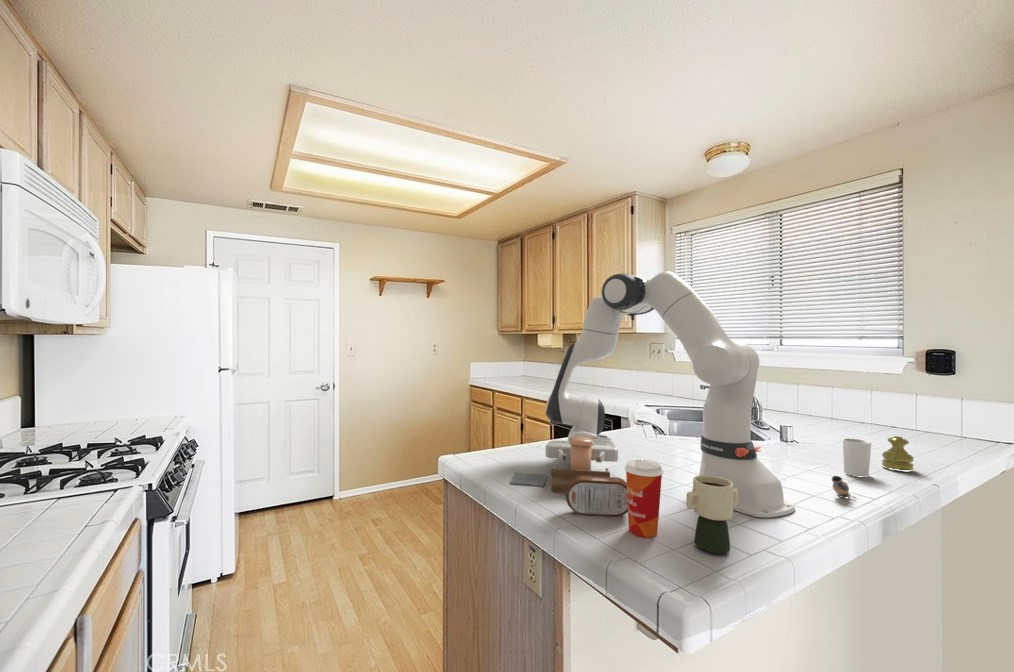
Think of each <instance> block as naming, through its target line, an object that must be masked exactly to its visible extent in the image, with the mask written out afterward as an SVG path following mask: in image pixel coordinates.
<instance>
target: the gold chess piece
mask: <svg viewBox="0 0 1014 672" xmlns="http://www.w3.org/2000/svg"><path fill="white" fill-rule="evenodd" d="M887 442H889V443H890V444H891V448H890V447H889V449H887V450H886V451H883V452H882V453H881V456H882V457H883V458H882V460H881V461H882V463H881V464H882V465H883V466H885V467H887V468H892V469H899V470H913V471H914V463H913V462H914V459H915V458H914V456H913V455H912V454H910V453H909V452H908V451H907V450H906V449H905V446H906V445H909V443H910V441H908V440H907V439H906V438H903V437H902V436H897V435H894V436H893V437H890V438H889V437H888V438H887ZM882 465H881V466H882ZM883 466H882V467H883Z"/></svg>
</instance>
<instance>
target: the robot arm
mask: <svg viewBox="0 0 1014 672" xmlns="http://www.w3.org/2000/svg"><path fill="white" fill-rule="evenodd" d="M654 310H655V311H656V313H658V315H659V316H660V317H661V319H662V320H663V321H664V323H666V325H667V326H668V327H669V329H670V330H671V331H672V333H673V334H674V335H675V336H676V338H677V339H678V340H679V341H680V343H681V344H682V346H683V348H684V350H685V353H686V354H687V355H688V359H689V360H690V361H691V362H692V369H693V372H694V374H695V375H696V377H697V378H698V379H699V380H700V381H701V382H703V383H706V384H708V385H709V387H708V391H707V395H706V399H705V401H704V404H703V406H702V408H703V409H702V435H701V437H700V450H701V459H700V467H699V473H698V476H700V475H709V476H717V477H721V478H725V479H727V480H730V481H731V482H733V485H734V489H737V490H738V505H736V506H733V511H736V512H739V513H741V514H742V513H743V514H745V515H749V516H752V517H754V518H777V517H782V516H786V515H789V514H792V513H793V512H795V511H796V509H795V504H794V503H793V502H791V501H789V500H786V499H784V490H783V489H784V488H783V485H782V483H781V480H779V478H778V477H777V476H776V475H775V474H774V473H773V472H772V471H770V470H769V468H767V466H765V464H764V463H763V462H761V460H759V458H758V455H757V454H758V452H759V453H760V452H762V451H761V450H760V449H761V448H762V447H761V446H756V447H755V445H754V443H753V441H752V440H751V436H752V435H751V434H752V433H751V432H752V431H751V429H752V406H753V400H754V396H755V395H754V394H755V390H756V383H757V377H758V369H759V367H760V356H759V354H758V353H757V352H756V350H755V349H754V348H753V347H752V346H750V345H749V344H747V343H745V342H744V341H743V342H742V341H738V340H737V341H736V340H735V341H733V340H732V339H731V338H730V337H729V336H728V335H727V333H726V332H725V330H724V329H723V327H722V325H721V323H720V322H719V321H718V318H717V315H716V314H715V313H714V311H713V310H712V309H711V308H710V307H709V306H708V305H707V303H705V301H704V300H703V299H702V298H701V297H700V295H698V293H697V292H696V291H695V290H694V289H693V288H692V287H691V286H690V285H689V283H687V282H686V281H685V280H683V279H682V278H681V277H680V276H678V275H677V274H676V273H674V272H671V271H662V272H660V273H657V274H656V275H654V276H653V277H652V278H651V279H646V278H643V277H641V276H638V275H633V274H628V273H624V272H623V273H616V274H613V275H611V276H609V277H608V278H607V279H605V281H604V283H603V285H602V288H601V295H597V296H595V297H593V298H592V299H591V300H590V302H589V305H588V307H587V310H586V314H585V317H584V320H583V326H582V332H581V334H580V336H579V338H578V339H577V341H575V342H574V343H570V345H569V346H568V348H567V350H566V352H565V356H564V358H563V360H562V362H561V366H560V369H559V371H558V374H557V377H556V380H555V383H554V386H553V388H552V391H551V393H550V395H549V396H548V398H547V401H546V404H545V416H546V417H547V419H548V420H549V421H550V422H551V423H552V424H558V425H559V424H560V425H568V426H572V428H571V429H570V431H569V433H568V436H567V440H558V439H557V440H555V439H554V440H553V439H552V440H549V441H548V442H547V443H546V445H545V457H546V458H547V459H548V458H549V459H559V460H560V461H567V460H571V445H570V444H569V438H571V437H588V438H591V439H593V445H592V446H591V462H592V461H595V463H602V464H603V462H608V463H609V462H611V463H613V462H614V463H615V462H616V463H617V462H618V460H619V447H618V445H617V444H616V442H614V441H613V440H612V437H611V436H609V435H602V434H601V433H602V432H603V430H604V425H605V420H606V419H605V418H606V411H605V406H604V404H603V401H601V400H600V399H599V398H594V397H589V396H582V395H577V394H572V393H568V392H567V388H568V385H569V382H570V379H571V377H572V374H573V371H574V370H575V368H576V367H578V366H579V365H581V364H585V363H590V362H595V361H599V360H600V361H601V360H602V359H606V358H607V357H609V356H610V355H612V354H613V352H614V351H615V349H616V346H617V343H618V339H619V334H620V328H621V323H622V322H623V321H622V320H623V319H624V317H626V316H629V317H632V316H639V315H640V316H641V315H644V314H645V315H646V314H648V313H651V312H652V311H654Z"/></svg>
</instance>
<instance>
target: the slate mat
mask: <svg viewBox="0 0 1014 672" xmlns="http://www.w3.org/2000/svg"><path fill="white" fill-rule="evenodd" d="M547 477H548V474H545V473H544V474H543V473H531V472H530V473H527V472H514V475H513V477H512V479H511V480H510V482H509V484H510V485H515V486H517V485H519V486H528V487H529V486H530V487H542V488H543V487H545V484H546V481H547Z"/></svg>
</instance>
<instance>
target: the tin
mask: <svg viewBox="0 0 1014 672" xmlns="http://www.w3.org/2000/svg"><path fill="white" fill-rule="evenodd" d="M564 496H565V499H566V503H567V505H568V507H569V508H570V510H571V511H573V512H574V513H576V514H578V515H581V516H596V517H597V516H599V517H611V518H612V517H614V518H615V517H616V518H617V517H618V518H619V517H622V516H624V515H626V514H628V502H627V481H625V480H624V479H622V478H620V477H614V476H610V477H600V476H583V475H582V476H577V477H575V478H573V479H572V480H570V481H569V483H568V484H567V486H566V489H565V493H564Z"/></svg>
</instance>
